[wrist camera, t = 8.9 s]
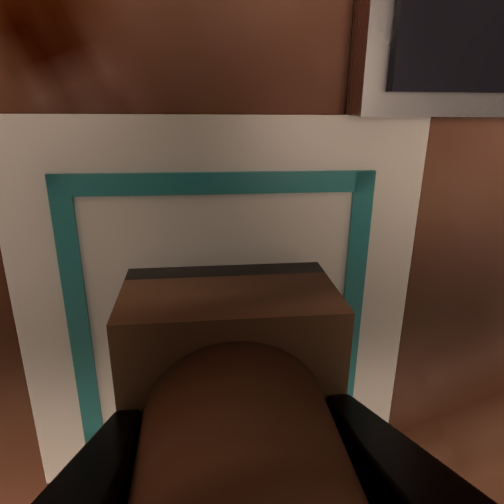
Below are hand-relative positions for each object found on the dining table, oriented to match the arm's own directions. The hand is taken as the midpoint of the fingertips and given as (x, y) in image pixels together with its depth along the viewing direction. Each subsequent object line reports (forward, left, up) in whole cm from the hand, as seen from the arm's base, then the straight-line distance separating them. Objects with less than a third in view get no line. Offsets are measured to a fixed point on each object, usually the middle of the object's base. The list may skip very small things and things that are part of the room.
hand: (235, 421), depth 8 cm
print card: (0, 0, -4) cm, 4 cm away
